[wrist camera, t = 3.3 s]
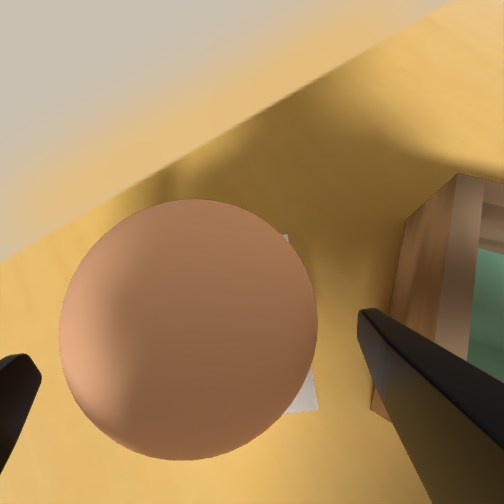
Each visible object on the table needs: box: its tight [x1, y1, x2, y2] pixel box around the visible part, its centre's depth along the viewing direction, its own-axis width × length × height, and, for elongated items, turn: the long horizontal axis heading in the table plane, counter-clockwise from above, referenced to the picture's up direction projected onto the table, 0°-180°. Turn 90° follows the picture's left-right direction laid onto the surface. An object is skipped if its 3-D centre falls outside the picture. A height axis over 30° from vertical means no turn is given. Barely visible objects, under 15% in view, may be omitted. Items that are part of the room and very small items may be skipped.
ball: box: [59, 199, 318, 460], centre depth 8 cm, size 7×7×7 cm
